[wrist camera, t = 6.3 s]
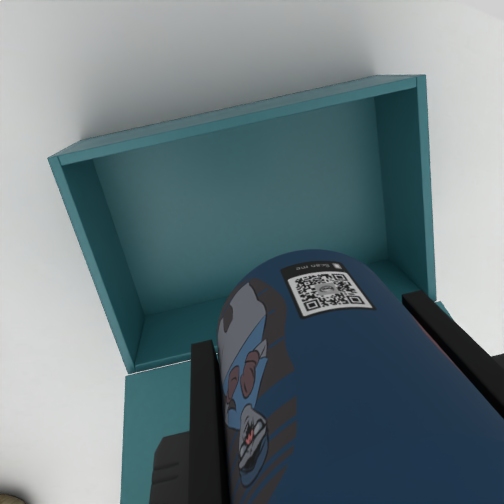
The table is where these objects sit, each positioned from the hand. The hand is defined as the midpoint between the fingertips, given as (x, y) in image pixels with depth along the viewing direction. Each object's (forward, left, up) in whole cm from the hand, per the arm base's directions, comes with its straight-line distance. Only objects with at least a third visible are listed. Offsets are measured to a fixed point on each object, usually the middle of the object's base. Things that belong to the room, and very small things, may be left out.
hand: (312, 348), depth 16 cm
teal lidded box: (0, 0, -21) cm, 21 cm away
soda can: (0, 0, -3) cm, 3 cm away
